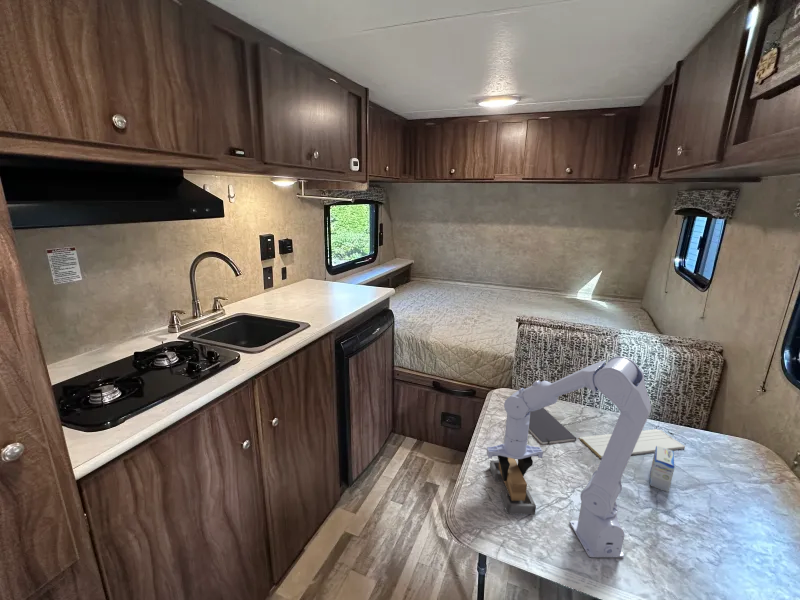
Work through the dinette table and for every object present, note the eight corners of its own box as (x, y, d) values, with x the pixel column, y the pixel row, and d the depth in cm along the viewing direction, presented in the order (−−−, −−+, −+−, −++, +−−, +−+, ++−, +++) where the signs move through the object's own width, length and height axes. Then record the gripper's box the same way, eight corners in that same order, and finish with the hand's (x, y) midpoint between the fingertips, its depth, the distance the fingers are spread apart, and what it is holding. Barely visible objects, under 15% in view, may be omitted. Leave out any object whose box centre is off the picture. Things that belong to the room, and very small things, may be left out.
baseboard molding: (575, 437, 124) (600, 460, 113) (577, 429, 123) (602, 452, 112) (653, 429, 130) (684, 450, 118) (654, 421, 129) (686, 442, 117)
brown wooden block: (525, 500, 93) (527, 484, 92) (511, 500, 93) (513, 484, 92) (510, 468, 105) (511, 453, 104) (498, 468, 105) (499, 453, 104)
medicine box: (650, 470, 108) (655, 444, 106) (668, 476, 105) (674, 450, 103) (649, 485, 102) (655, 459, 99) (669, 493, 99) (675, 466, 97)
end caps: (535, 514, 91) (536, 506, 91) (507, 514, 91) (508, 506, 91) (513, 467, 108) (514, 460, 107) (489, 467, 108) (490, 460, 107)
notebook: (575, 442, 121) (540, 408, 142) (576, 438, 121) (540, 405, 141) (541, 446, 119) (510, 411, 139) (542, 442, 118) (510, 407, 139)
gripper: (537, 426, 99) (532, 468, 103) (485, 425, 99) (481, 468, 102) (548, 442, 93) (542, 486, 96) (492, 441, 92) (488, 486, 96)
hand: (511, 478), depth 99 cm, fingers closed on brown wooden block, 3 cm apart
